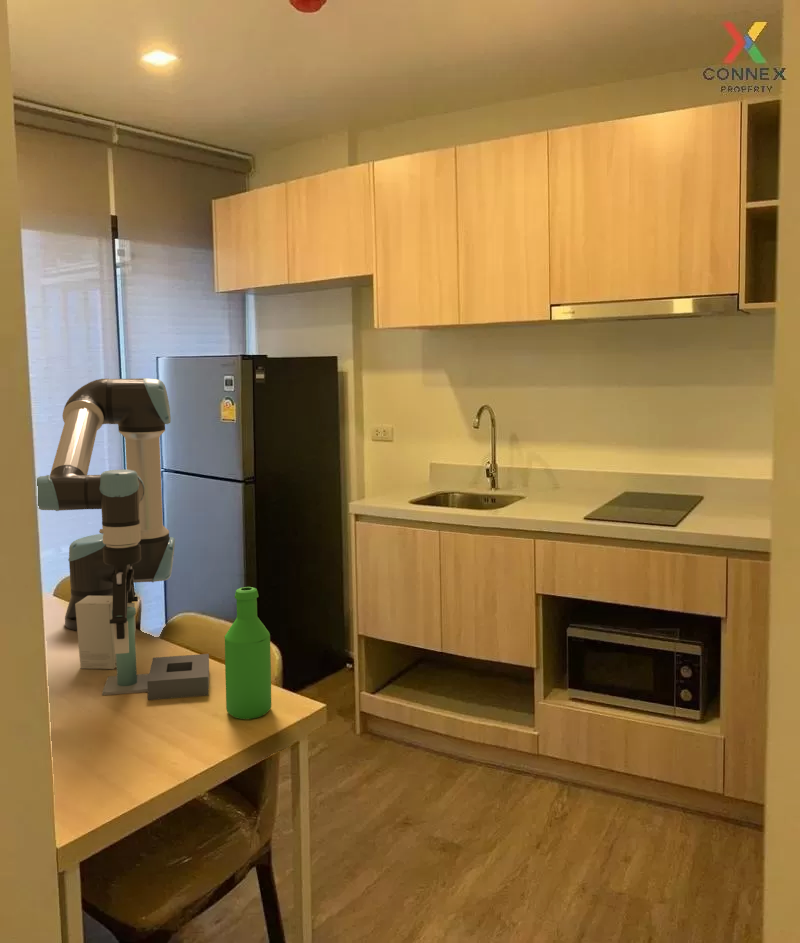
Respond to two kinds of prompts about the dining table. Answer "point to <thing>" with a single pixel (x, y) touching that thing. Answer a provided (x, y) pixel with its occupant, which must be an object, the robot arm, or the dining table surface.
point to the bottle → (247, 660)
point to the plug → (128, 655)
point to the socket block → (178, 677)
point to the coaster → (113, 687)
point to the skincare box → (96, 632)
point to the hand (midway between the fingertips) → (125, 642)
